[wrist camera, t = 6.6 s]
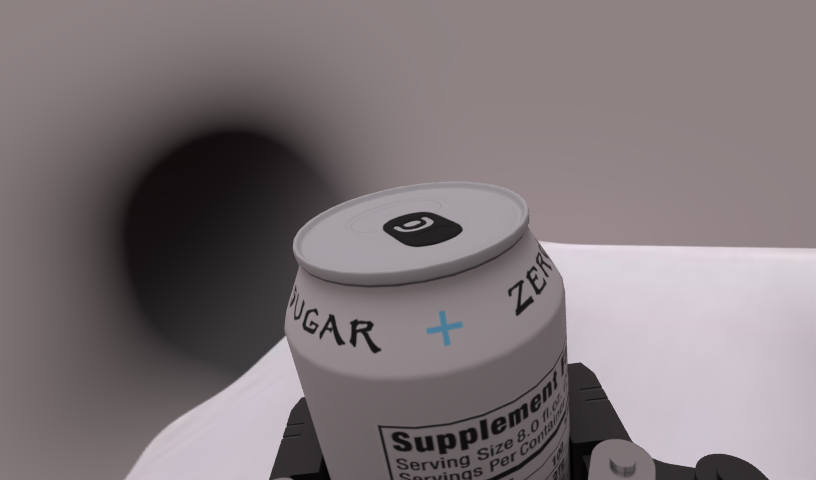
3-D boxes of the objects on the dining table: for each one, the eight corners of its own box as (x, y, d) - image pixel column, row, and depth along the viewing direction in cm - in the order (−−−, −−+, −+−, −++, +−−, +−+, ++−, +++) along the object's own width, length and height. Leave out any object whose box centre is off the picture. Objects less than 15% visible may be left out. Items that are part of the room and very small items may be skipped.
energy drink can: (497, 520, 19) (452, 162, 13) (622, 678, 14) (636, 208, 8) (362, 609, 17) (239, 224, 11) (453, 836, 12) (311, 341, 6)
